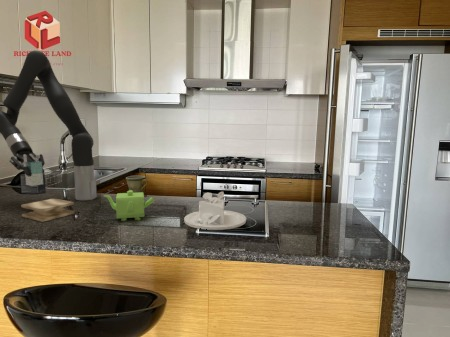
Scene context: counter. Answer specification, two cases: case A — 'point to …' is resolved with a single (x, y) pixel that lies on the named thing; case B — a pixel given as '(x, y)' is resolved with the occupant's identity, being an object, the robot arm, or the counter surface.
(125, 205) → the kettle
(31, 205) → the stand
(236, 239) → the counter surface
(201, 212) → the dish
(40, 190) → the small box
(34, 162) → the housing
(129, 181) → the ceramic cup
